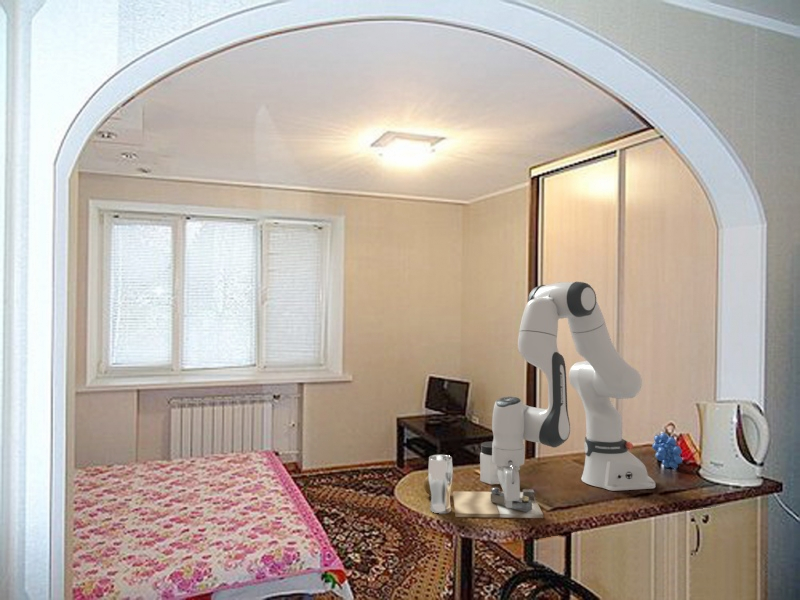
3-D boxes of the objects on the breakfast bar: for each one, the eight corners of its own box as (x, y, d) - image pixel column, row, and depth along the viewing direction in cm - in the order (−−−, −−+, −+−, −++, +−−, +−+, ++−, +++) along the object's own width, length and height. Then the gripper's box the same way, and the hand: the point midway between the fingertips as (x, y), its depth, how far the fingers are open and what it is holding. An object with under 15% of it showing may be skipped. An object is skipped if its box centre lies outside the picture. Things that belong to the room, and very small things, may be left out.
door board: (531, 495, 177) (531, 484, 177) (543, 517, 159) (543, 505, 159) (452, 494, 178) (452, 483, 178) (455, 516, 160) (455, 504, 160)
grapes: (644, 465, 208) (644, 431, 208) (657, 462, 211) (657, 429, 211) (673, 473, 197) (673, 438, 197) (686, 470, 201) (686, 436, 200)
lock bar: (489, 501, 168) (488, 488, 168) (495, 498, 170) (495, 486, 170) (526, 512, 159) (525, 499, 159) (532, 510, 161) (532, 496, 161)
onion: (452, 493, 179) (452, 467, 179) (443, 501, 172) (443, 474, 172) (430, 490, 182) (430, 464, 182) (419, 498, 175) (419, 471, 175)
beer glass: (425, 512, 163) (425, 459, 163) (432, 504, 170) (432, 453, 170) (449, 516, 161) (448, 462, 161) (455, 507, 167) (455, 455, 167)
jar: (483, 485, 187) (483, 448, 186) (477, 477, 195) (476, 441, 195) (510, 483, 188) (510, 447, 188) (502, 476, 196) (502, 440, 196)
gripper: (525, 467, 151) (525, 520, 151) (514, 447, 171) (514, 494, 171) (501, 467, 151) (501, 520, 151) (493, 447, 171) (493, 493, 171)
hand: (508, 506), depth 161 cm, fingers closed
